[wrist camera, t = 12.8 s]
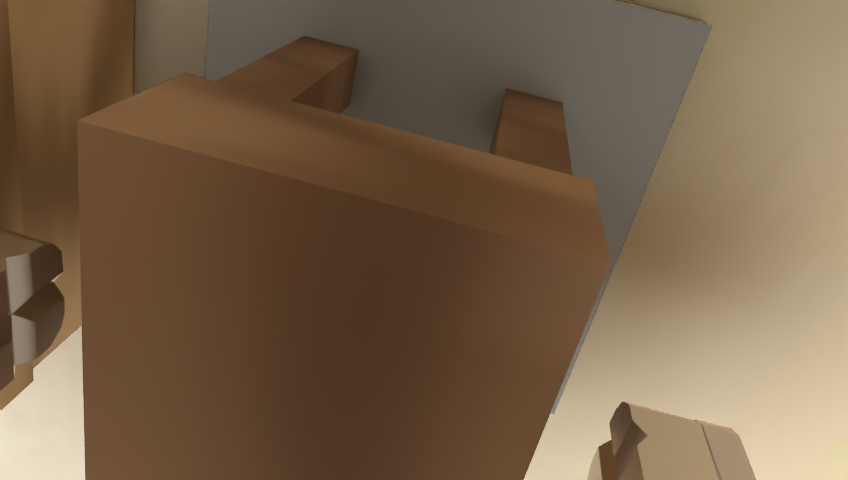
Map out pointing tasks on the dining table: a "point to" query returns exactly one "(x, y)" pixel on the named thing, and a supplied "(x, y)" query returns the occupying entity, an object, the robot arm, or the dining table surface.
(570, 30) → the mat
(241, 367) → the tan pegged block
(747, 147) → the dining table surface
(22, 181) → the tan wooden pedestal
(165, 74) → the dining table surface
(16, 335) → the robot arm
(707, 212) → the dining table surface
